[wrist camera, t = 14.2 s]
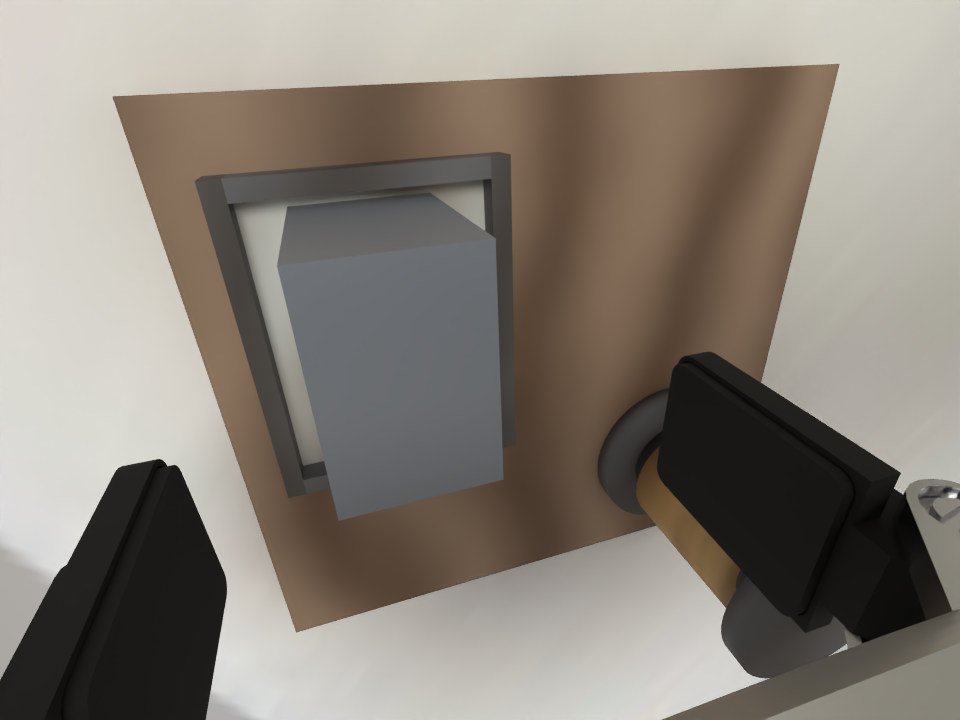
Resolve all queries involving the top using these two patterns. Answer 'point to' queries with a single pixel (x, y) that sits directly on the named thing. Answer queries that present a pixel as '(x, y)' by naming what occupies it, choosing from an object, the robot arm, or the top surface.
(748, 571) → the robot arm
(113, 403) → the top surface
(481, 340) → the gray rectangular block
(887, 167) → the top surface
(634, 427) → the winding board
